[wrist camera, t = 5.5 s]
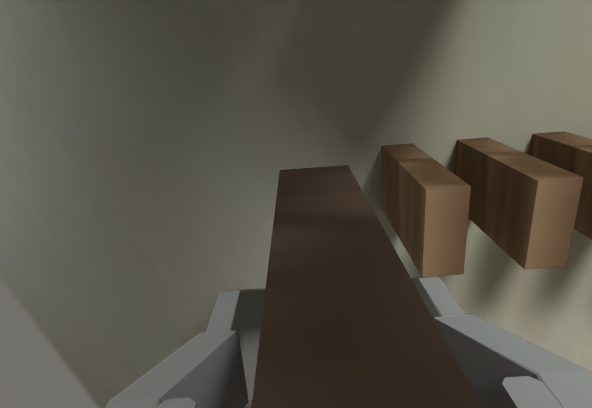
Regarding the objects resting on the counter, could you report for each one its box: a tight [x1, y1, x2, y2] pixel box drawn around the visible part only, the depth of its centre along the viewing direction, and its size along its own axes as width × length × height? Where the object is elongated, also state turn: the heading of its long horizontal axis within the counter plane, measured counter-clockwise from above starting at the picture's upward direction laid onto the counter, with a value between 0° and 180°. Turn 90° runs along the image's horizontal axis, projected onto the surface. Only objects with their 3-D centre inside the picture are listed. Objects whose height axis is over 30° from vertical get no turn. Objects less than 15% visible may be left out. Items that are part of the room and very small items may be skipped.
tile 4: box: [530, 131, 592, 239], centre depth 24 cm, size 2×5×10 cm, turn 4°
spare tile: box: [251, 165, 483, 408], centre depth 9 cm, size 2×5×10 cm, turn 4°
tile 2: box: [382, 144, 471, 277], centre depth 25 cm, size 2×5×10 cm, turn 4°
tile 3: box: [455, 138, 583, 269], centre depth 24 cm, size 2×5×10 cm, turn 5°
